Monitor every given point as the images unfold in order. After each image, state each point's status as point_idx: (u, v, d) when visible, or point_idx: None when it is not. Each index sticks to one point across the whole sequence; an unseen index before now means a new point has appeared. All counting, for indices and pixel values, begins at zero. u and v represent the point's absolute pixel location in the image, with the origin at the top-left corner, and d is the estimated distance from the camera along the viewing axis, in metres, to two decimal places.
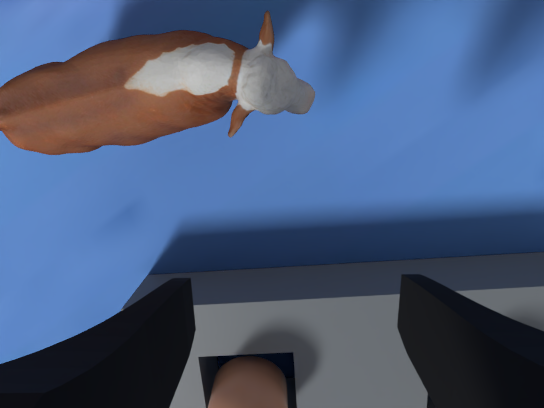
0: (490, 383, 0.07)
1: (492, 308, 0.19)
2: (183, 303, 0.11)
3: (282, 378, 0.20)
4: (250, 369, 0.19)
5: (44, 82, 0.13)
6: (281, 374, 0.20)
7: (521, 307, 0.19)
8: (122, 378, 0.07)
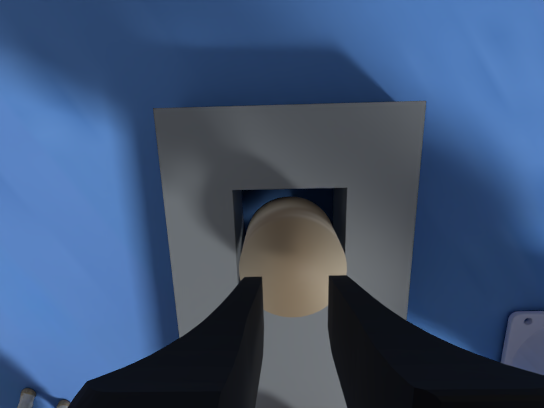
0: (370, 384, 0.07)
1: (191, 235, 0.17)
2: (260, 302, 0.11)
3: None
4: None
5: None
6: None
7: (189, 205, 0.17)
8: (241, 377, 0.07)
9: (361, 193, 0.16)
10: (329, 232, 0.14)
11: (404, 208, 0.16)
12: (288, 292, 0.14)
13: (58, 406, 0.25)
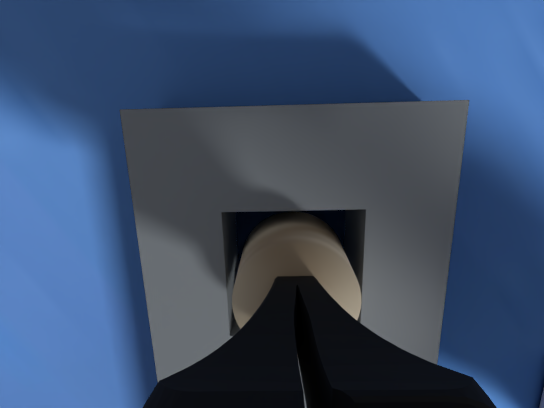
0: (316, 384, 0.07)
1: (171, 267, 0.14)
2: (296, 301, 0.11)
3: None
4: None
5: None
6: None
7: (168, 231, 0.13)
8: None
9: (383, 216, 0.13)
10: (340, 258, 0.11)
11: (437, 235, 0.13)
12: None
13: None
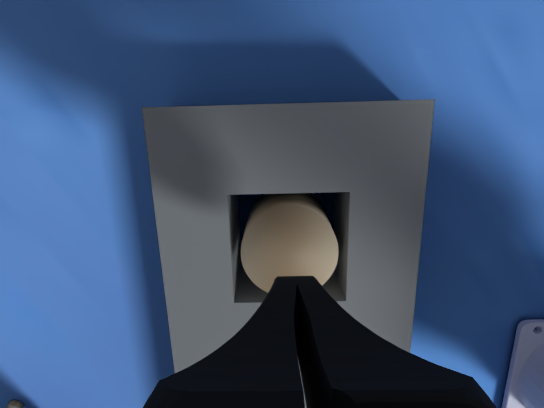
0: (316, 384, 0.07)
1: (183, 243, 0.16)
2: (296, 301, 0.11)
3: None
4: None
5: None
6: None
7: (181, 211, 0.16)
8: None
9: (364, 198, 0.15)
10: (322, 219, 0.15)
11: (410, 214, 0.15)
12: (285, 273, 0.16)
13: None
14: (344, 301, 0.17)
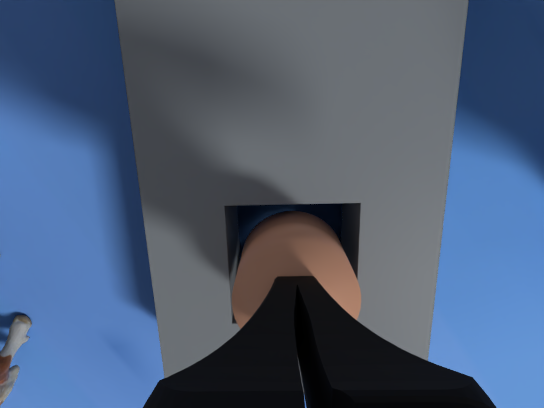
0: (316, 384, 0.07)
1: None
2: (296, 301, 0.11)
3: (270, 218, 0.14)
4: None
5: None
6: (266, 219, 0.14)
7: None
8: None
9: None
10: None
11: None
12: None
13: None
14: None
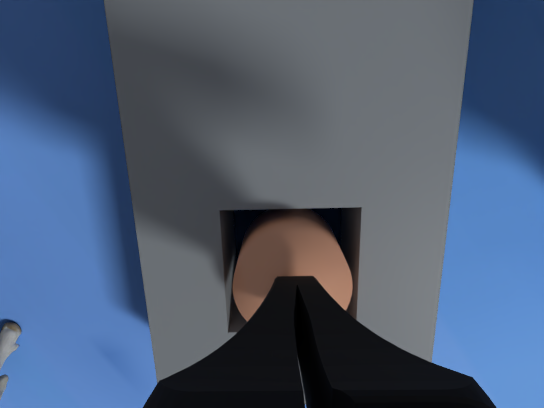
0: (316, 384, 0.07)
1: None
2: (296, 301, 0.11)
3: (268, 212, 0.15)
4: None
5: None
6: (265, 213, 0.15)
7: None
8: None
9: None
10: None
11: None
12: None
13: None
14: None
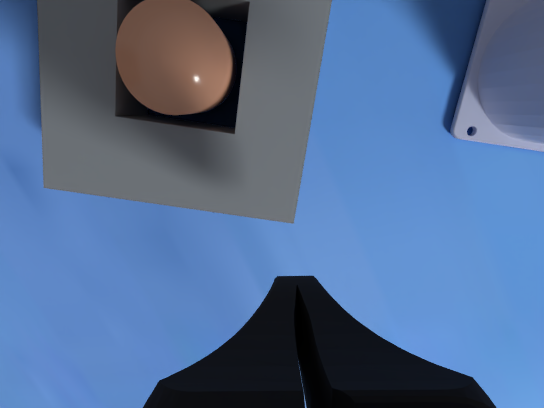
0: (316, 384, 0.07)
1: None
2: (296, 301, 0.11)
3: None
4: None
5: None
6: None
7: None
8: None
9: None
10: None
11: None
12: None
13: None
14: None
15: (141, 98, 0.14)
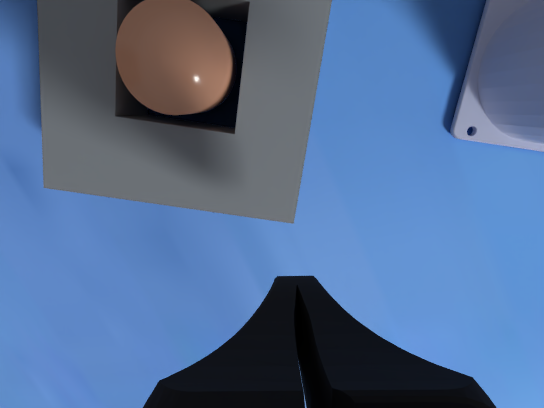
0: (316, 384, 0.07)
1: None
2: (296, 301, 0.11)
3: None
4: None
5: None
6: None
7: None
8: None
9: None
10: None
11: None
12: None
13: None
14: None
15: (141, 98, 0.14)
